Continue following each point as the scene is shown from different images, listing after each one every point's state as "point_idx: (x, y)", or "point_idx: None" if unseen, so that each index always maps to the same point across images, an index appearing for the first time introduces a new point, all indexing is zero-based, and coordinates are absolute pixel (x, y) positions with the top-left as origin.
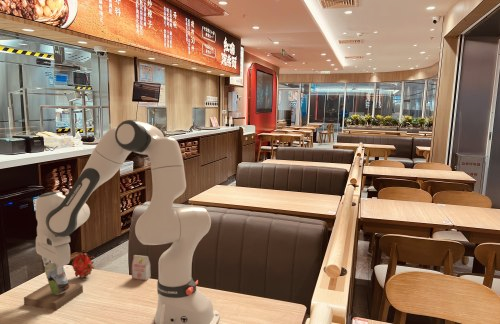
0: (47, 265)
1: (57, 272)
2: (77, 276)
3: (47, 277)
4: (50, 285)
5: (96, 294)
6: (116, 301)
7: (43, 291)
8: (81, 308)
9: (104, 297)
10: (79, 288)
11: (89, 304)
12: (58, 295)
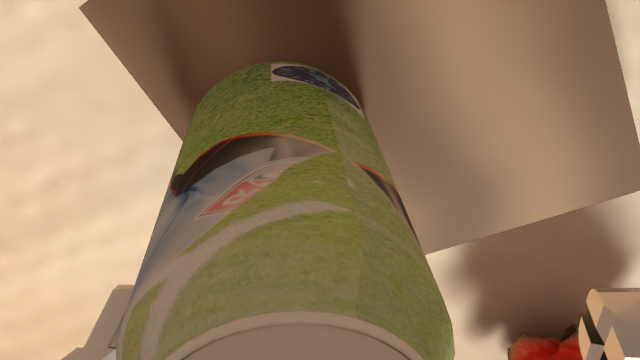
0: (328, 357)
1: (104, 314)
2: (565, 329)
3: (266, 156)
4: (255, 103)
5: None
6: (27, 303)
7: (480, 20)
8: (40, 138)
9: None
10: None
11: (76, 197)
12: None
